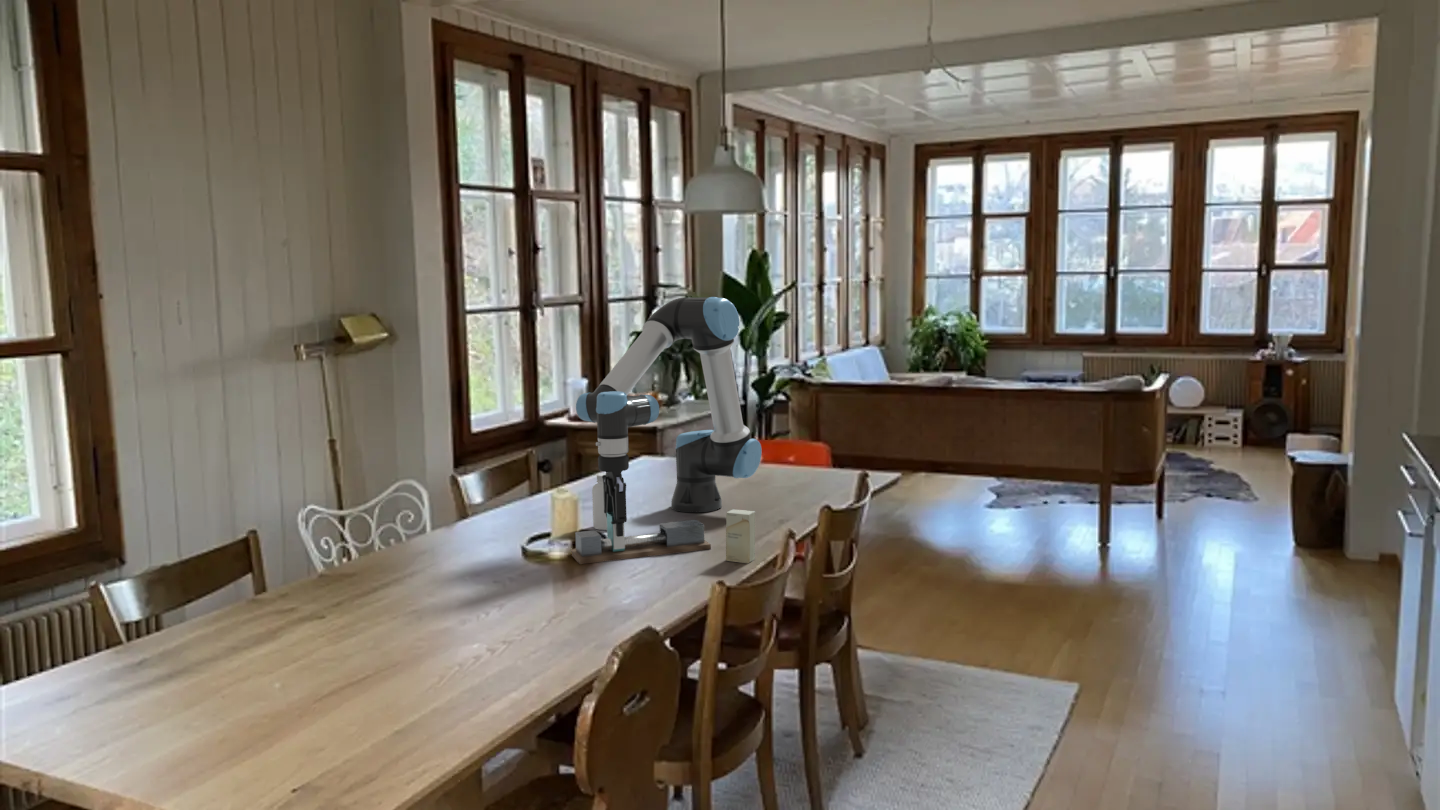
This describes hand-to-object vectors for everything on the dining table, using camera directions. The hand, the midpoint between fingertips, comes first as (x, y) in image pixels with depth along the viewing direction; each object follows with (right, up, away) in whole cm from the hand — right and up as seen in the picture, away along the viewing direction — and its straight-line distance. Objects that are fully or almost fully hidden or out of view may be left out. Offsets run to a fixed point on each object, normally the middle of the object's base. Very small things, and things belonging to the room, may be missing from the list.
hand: (616, 545), depth 261 cm
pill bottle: (-5, +1, +29) cm, 30 cm away
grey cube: (-7, -2, -2) cm, 7 cm away
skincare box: (+31, -3, -7) cm, 32 cm away
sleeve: (+16, 0, +6) cm, 18 cm away
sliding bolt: (+3, -1, +1) cm, 3 cm away
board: (+6, -2, +3) cm, 7 cm away
